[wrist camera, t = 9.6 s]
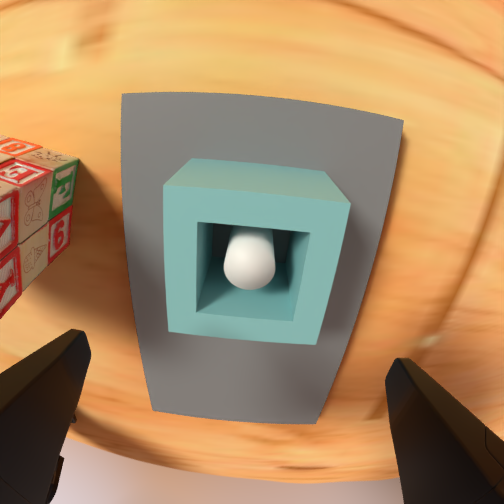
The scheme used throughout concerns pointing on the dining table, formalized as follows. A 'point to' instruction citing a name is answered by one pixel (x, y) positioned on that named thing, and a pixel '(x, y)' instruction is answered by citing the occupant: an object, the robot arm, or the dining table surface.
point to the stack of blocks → (32, 212)
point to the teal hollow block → (254, 215)
